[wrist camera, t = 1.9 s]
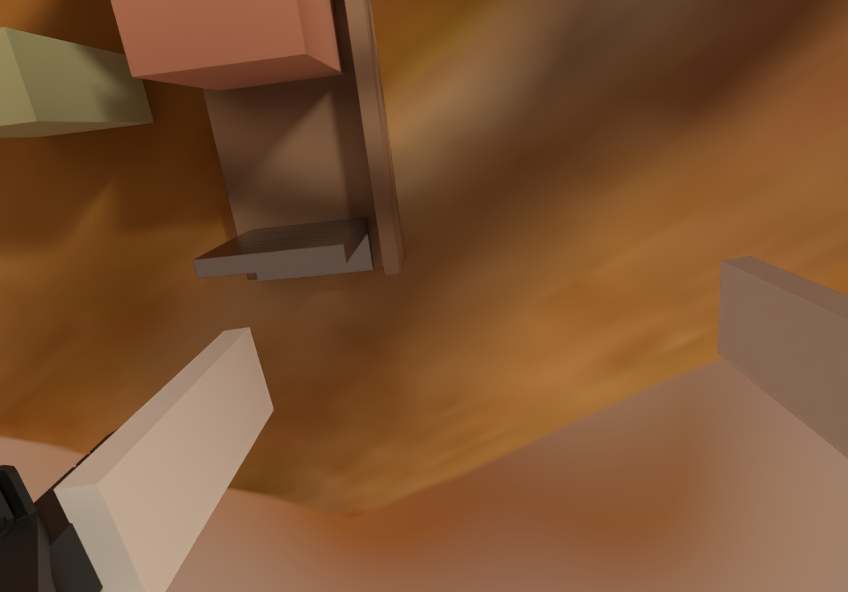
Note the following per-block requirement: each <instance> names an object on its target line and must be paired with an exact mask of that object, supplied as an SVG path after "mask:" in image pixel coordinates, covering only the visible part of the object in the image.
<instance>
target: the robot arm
mask: <svg viewBox="0 0 848 592" xmlns="http://www.w3.org/2000/svg"><path fill="white" fill-rule="evenodd" d="M718 354H719V355H721V356H722V357H723V358H724V359H726V360H727V361H728V362H729V363H730V364H732V365H733V366H734V367H735V368H737V369H738V370H739V371H740V372H742V373H743V374H744V375H745V376H747V377H748V378H749V379H750V380H752V381H753V382H754V383H755V384H756V385H758V386H759V387H760V388H761V389H763V390H764V391H765V392H766V393H768V394H769V395H770V396H771V397H773V398H774V399H775V400H776V401H778V402H779V403H780V404H781V405H782V406H784V407H785V408H786V409H787V410H789V411H790V412H791V413H792V414H794V415H795V416H796V417H798V418H799V419H800V420H801V421H803V423H805V424H806V425H807V426H809V427H810V428H811V429H812V430H814V431H815V432H816V433H817V434H818V435H820V436H821V437H822V438H823V439H825V440H826V441H827V442H828V443H829V444H831V445H832V446H833V447H835V448H836V449H837V450H838V451H840V452H841V453H842V454H843V455H844V456H846V457H847V458H848V296H847V295H844V294H842V293H840V292H837V291H835V290H832V289H830V288H827V287H825V286H822V285H820V284H818V283H815V282H813V281H810V280H808V279H805V278H803V277H800V276H798V275H796V274H793V273H791V272H788V271H786V270H783V269H781V268H778V267H776V266H774V265H771V264H769V263H766V262H764V261H761V260H759V259H756V258H754V257H752V256H748V257H741V258H734V259H727V260H721V270H720V303H719V337H718ZM273 410H274V409H273V405H272V402H271V399H270V395H269V392H268V388H267V385H266V382H265V378H264V375H263V371H262V368H261V365H260V361H259V358H258V354H257V351H256V348H255V344H254V341H253V338H252V334H251V331H250V327H247V328H240V329H232V330H225V331H223V332H222V333H221V334H220V335H219V336H218V337H217V338H216V339H215V340H214V341H212V342H211V343H210V344H209V345H208V346H207V347H206V348H205V349H204V350H203V351H202V352H201V353H200V354H198V355H197V356H196V357H195V358H194V359H193V360H192V361H191V362H190V363H189V364H188V365H187V366H186V367H184V368H183V369H182V370H181V371H180V372H179V373H178V374H177V375H176V376H175V377H174V378H173V379H172V380H171V381H169V382H168V383H167V384H166V385H165V386H164V387H163V388H162V389H161V390H160V391H159V392H158V393H157V394H155V395H154V396H153V397H152V398H151V399H150V400H149V401H148V402H147V403H146V404H145V405H144V406H143V407H141V408H140V409H139V410H138V411H137V412H136V413H135V414H134V415H133V416H132V417H131V418H130V419H129V420H127V421H126V422H125V423H124V424H123V425H122V426H121V427H120V428H119V429H117V430H116V431H114V432H113V433H111V434H109V435H108V436H106V437H105V438H104V439H103V440H102V441H101V442H100V443H99V444H98V445H97V446H95V447H94V448H93V449H92V450H91V451H90V454H87V455H86V456H85V457H83V458H82V459H81V460H80V461H79V462H78V463H77V464H76V467H73V468H71V469H70V470H69V471H68V472H67V473H66V474H65V475H64V476H63V477H62V478H61V479H60V480H58V481H57V482H56V483H55V484H54V485H53V486H52V487H51V488H50V489H49V490H48V491H47V492H45V493H44V494H43V495H42V496H41V497H40V498H39V499H38V500H37V501H36V502H34V503H33V501H32V499H31V497H30V495H29V493H28V491H27V489H26V487H25V485H24V483H23V482H22V479H21V478H20V475H19V473H18V471H17V470H16V468H15V467H14V466H9V465H1V466H0V592H100V591H101V590H102V591H103V592H166V590H167V588H168V586H169V585H170V583H171V581H172V580H173V578H174V576H175V575H176V573H177V571H178V570H179V568H180V566H181V565H182V563H183V561H184V560H185V558H186V556H187V554H188V553H189V551H190V549H191V548H192V546H193V545H194V543H195V541H196V540H197V538H198V536H199V534H200V533H201V531H202V529H203V528H204V526H205V524H206V523H207V521H208V519H209V518H210V516H211V514H212V513H213V511H214V509H215V508H216V506H217V504H218V503H219V501H220V499H221V498H222V496H223V494H224V492H225V491H226V489H227V487H228V486H229V484H230V482H231V481H232V479H233V477H234V476H235V474H236V472H237V471H238V469H239V467H240V466H241V464H242V462H243V461H244V459H245V457H246V456H247V454H248V452H249V451H250V449H251V447H252V445H253V444H254V442H255V440H256V439H257V437H258V435H259V434H260V432H261V430H262V429H263V427H264V425H265V424H266V422H267V420H268V419H269V417H270V415H271V414H272V412H273Z"/></svg>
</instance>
